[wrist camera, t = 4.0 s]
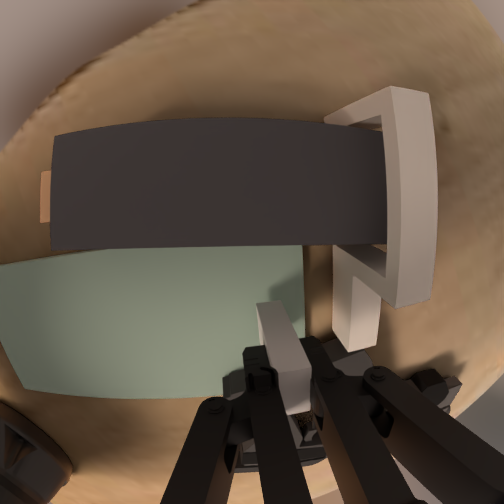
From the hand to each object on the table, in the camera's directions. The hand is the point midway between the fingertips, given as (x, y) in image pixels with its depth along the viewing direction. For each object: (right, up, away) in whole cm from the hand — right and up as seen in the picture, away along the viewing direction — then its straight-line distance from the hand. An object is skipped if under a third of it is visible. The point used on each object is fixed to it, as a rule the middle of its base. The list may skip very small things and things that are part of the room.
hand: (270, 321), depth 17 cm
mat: (-11, -1, +1) cm, 11 cm away
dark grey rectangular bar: (-2, +8, -1) cm, 8 cm away
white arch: (+5, +6, 0) cm, 7 cm away
